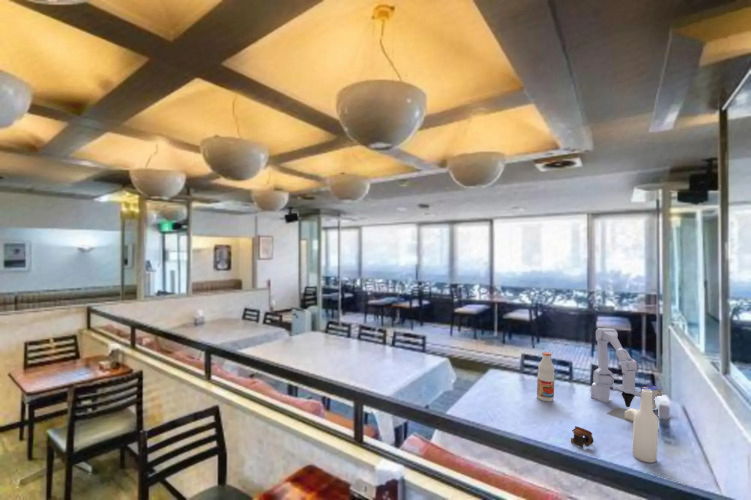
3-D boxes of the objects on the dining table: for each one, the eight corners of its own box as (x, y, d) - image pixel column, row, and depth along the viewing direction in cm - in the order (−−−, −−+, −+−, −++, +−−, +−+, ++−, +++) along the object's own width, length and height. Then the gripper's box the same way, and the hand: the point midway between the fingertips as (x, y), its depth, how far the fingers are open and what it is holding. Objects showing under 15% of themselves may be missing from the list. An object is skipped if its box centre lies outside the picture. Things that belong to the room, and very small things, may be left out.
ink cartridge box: (653, 406, 224) (654, 382, 224) (662, 410, 218) (663, 385, 218) (639, 407, 222) (640, 382, 222) (648, 411, 216) (649, 386, 216)
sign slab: (624, 411, 206) (639, 416, 200) (631, 407, 211) (645, 412, 205) (624, 418, 206) (639, 423, 200) (631, 414, 211) (645, 418, 205)
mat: (605, 414, 211) (605, 413, 211) (618, 407, 220) (618, 406, 220) (635, 424, 199) (635, 423, 199) (647, 417, 209) (647, 416, 209)
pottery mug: (564, 440, 181) (569, 423, 184) (580, 448, 182) (585, 431, 185) (583, 447, 170) (587, 428, 172) (600, 455, 171) (604, 437, 173)
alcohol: (657, 466, 161) (660, 396, 161) (632, 459, 166) (635, 391, 165) (655, 456, 168) (658, 389, 168) (631, 450, 173) (634, 385, 173)
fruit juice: (544, 394, 236) (546, 350, 236) (557, 400, 228) (559, 354, 227) (533, 396, 233) (535, 351, 232) (545, 402, 224) (547, 355, 224)
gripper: (611, 379, 212) (610, 403, 212) (641, 387, 200) (640, 413, 200) (616, 377, 216) (615, 400, 216) (646, 385, 204) (645, 410, 204)
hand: (627, 406), depth 208 cm, fingers closed
